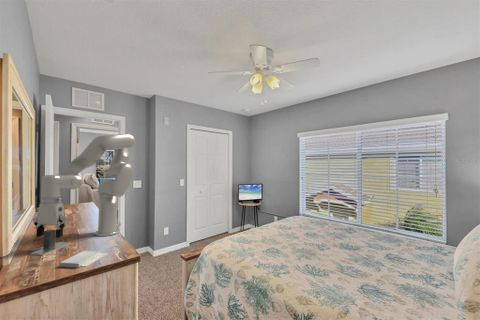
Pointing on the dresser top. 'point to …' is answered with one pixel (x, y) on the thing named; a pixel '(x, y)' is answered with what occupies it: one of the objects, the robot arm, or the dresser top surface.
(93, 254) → the hard drive
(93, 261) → the board
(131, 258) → the dresser top surface
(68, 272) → the dresser top surface
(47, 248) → the scraper
